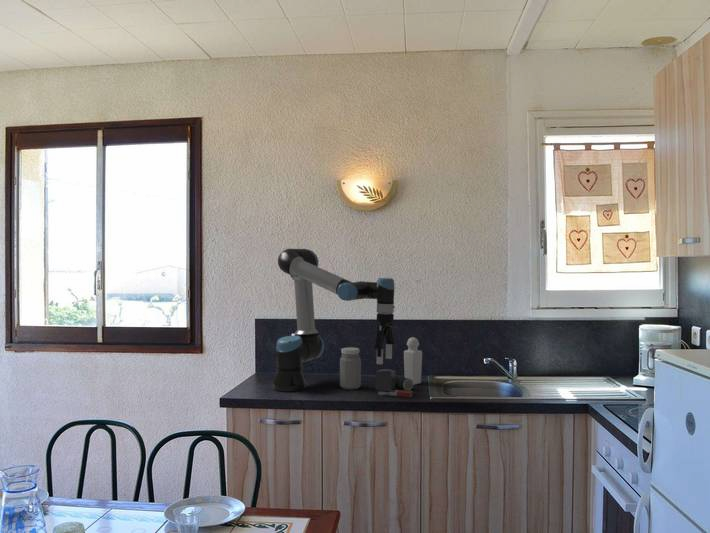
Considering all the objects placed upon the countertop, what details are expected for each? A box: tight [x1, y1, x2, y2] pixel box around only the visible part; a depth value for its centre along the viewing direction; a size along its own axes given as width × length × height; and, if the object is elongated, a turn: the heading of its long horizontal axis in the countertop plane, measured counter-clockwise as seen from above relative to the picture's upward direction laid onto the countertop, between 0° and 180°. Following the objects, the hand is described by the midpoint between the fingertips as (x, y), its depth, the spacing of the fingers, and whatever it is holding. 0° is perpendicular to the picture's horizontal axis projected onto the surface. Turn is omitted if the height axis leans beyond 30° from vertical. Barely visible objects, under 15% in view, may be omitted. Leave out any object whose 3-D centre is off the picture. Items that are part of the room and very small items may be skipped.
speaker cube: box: [374, 368, 397, 391], centre depth 238 cm, size 7×7×8 cm
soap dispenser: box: [403, 336, 423, 386], centre depth 260 cm, size 6×6×22 cm
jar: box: [339, 346, 362, 390], centre depth 251 cm, size 10×10×18 cm
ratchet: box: [377, 389, 414, 399], centre depth 236 cm, size 15×6×6 cm, turn 70°
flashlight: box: [395, 375, 414, 391], centre depth 252 cm, size 15×5×5 cm, turn 33°
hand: (384, 361), depth 238 cm, fingers open, 13 cm apart
